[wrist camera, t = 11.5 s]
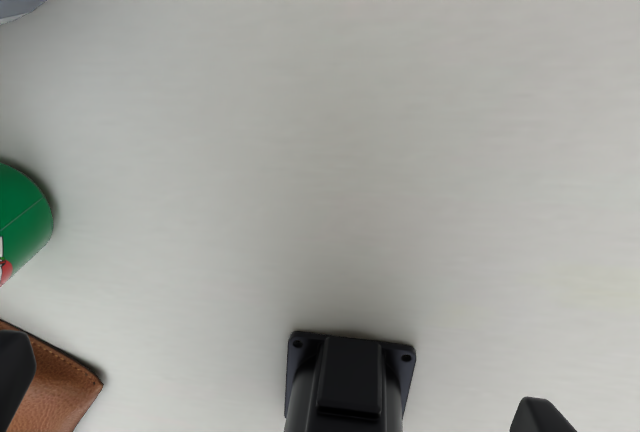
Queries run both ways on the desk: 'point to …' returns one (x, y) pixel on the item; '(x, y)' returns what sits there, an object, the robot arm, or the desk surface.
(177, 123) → the desk surface
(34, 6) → the pot
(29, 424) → the sunglasses case
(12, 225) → the soda can
